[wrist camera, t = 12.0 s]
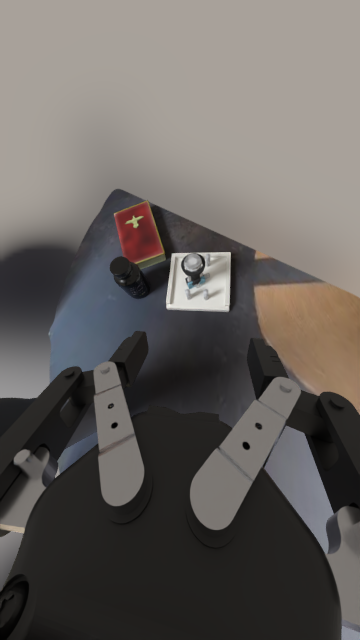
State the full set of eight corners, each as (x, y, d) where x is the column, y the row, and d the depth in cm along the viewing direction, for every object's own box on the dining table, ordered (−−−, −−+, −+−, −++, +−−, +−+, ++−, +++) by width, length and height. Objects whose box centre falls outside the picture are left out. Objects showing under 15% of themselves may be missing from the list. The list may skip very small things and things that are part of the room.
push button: (205, 269, 47) (204, 244, 38) (214, 285, 45) (215, 262, 36) (183, 279, 47) (176, 256, 38) (190, 295, 46) (186, 276, 36)
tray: (167, 309, 47) (162, 302, 42) (173, 258, 51) (169, 246, 46) (228, 311, 44) (230, 304, 39) (229, 257, 48) (232, 244, 43)
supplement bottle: (124, 286, 51) (100, 263, 40) (143, 273, 51) (124, 246, 40) (135, 304, 49) (113, 284, 38) (155, 290, 49) (139, 266, 38)
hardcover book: (130, 274, 52) (124, 267, 48) (118, 223, 59) (112, 213, 55) (168, 261, 52) (164, 252, 48) (151, 211, 58) (147, 199, 54)
